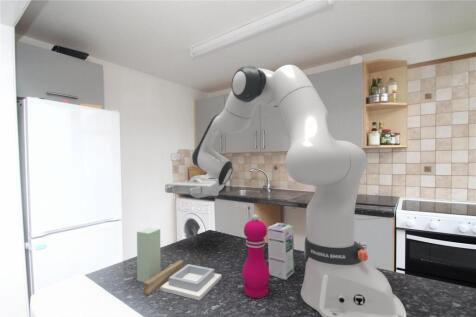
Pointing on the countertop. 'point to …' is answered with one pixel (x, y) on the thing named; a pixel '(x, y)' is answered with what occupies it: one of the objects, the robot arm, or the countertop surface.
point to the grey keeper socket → (191, 281)
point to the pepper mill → (255, 260)
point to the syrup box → (281, 250)
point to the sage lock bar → (148, 254)
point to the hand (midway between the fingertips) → (178, 190)
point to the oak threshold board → (161, 278)
